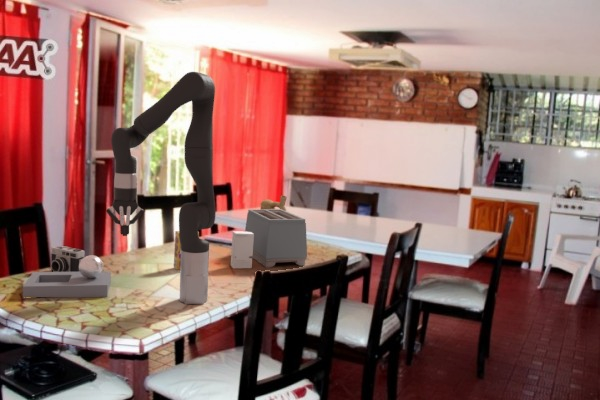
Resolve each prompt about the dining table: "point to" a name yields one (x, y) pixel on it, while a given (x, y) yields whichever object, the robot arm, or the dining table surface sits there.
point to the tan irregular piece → (274, 204)
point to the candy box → (177, 251)
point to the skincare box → (242, 249)
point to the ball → (91, 266)
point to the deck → (66, 285)
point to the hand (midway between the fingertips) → (124, 235)
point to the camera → (66, 259)
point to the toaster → (277, 236)
